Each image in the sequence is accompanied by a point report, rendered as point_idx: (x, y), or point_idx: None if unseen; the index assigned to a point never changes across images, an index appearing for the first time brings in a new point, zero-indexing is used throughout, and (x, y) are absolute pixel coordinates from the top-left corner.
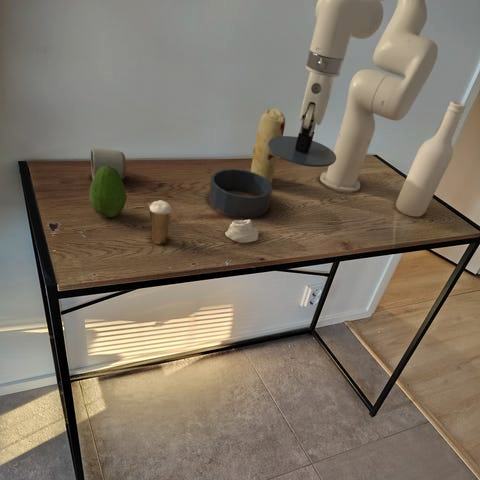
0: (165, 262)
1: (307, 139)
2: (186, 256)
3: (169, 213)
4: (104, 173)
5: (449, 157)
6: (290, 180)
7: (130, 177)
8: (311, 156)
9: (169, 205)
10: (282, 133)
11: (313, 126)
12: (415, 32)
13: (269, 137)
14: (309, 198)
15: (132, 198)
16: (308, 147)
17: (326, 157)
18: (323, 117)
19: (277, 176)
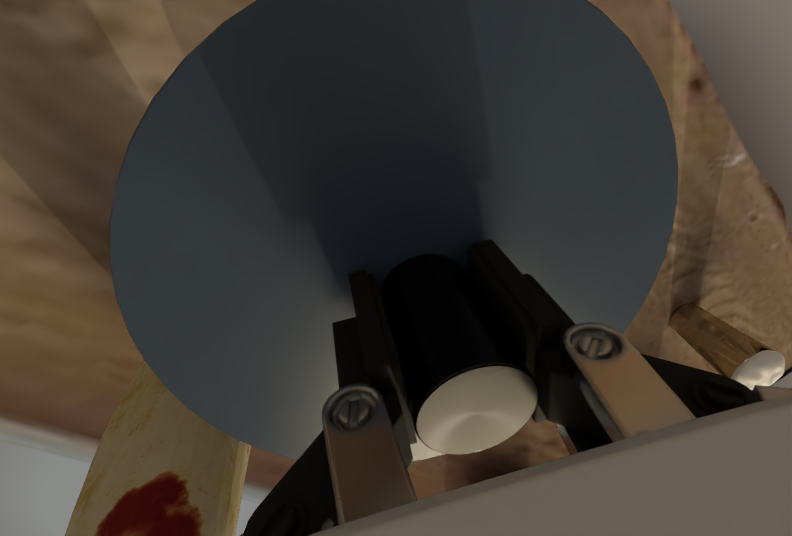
0: (757, 262)
1: (573, 322)
2: (728, 245)
3: (763, 348)
4: None
5: None
6: (52, 258)
7: (468, 483)
8: (505, 192)
9: (761, 366)
10: (172, 484)
11: (682, 413)
12: None
13: (242, 482)
14: (130, 114)
15: (548, 432)
16: (510, 264)
17: (423, 72)
18: (498, 519)
19: (83, 309)
